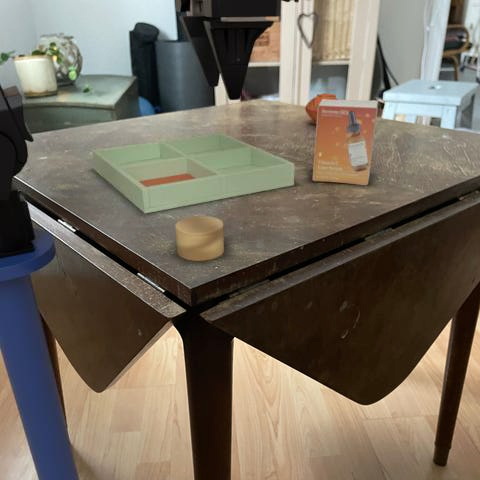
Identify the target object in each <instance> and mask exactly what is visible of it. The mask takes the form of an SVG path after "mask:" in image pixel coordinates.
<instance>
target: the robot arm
mask: <svg viewBox="0 0 480 480" xmlns="http://www.w3.org/2000/svg"><path fill="white" fill-rule="evenodd" d="M281 1H282V2H285V3H290V2H291V0H175V12H177V13H186V15H179V16H178V18H179V21H180V22H181V24H182V27H183V29H184V31H185V33H186V36H187V38H188V40H189V43H190V46H191V48H192V50H193V52H194V55H195V57H196V60H197V62H198V64H199V66H200V69H201V72H202V74H203V77H204V79H205V81H206V84H207V86H208V87H209V88H216V87H218V86H219V83H220V78H221V80H222V84H223V86H224V89H225V92H226V95H227V98H228V100H230V101H238V100H240V99H241V97H242V93H243V88H244V84H245V81H246V77H247V72H248V69H249V65H250V61H251V58H252V57H251V56H252V53H253V50H254V47H255V44H256V42H257V40H258V39H259V38H260V37H261V36H262V35H263V34H264V33H265V32H266V31H267V30H268V29H269V28H272V27H273V25H274V23H275V20H269V19H267V18H274V17H275V18H277V17H278V18H279V17H281V5H282V4H281V3H282V2H281ZM299 1H300V0H293V2H294V3H299ZM24 115H25V114H24V104H23V96H22V94H21V92H20V89H19V88H18V86H17V85H13V86H9V87H6V88H3V87H2V85H1V83H0V259H2V258H7V257H12V256H16V255H21V254H26V253H31V252H34V251H35V248H34V245H33V243H32V242H31V241H33V240H34V239H35V234H34V230H33V228H34V226H33V221H32V217H31V212H30V207H29V203H28V202H27V200H26V198H25V197H24V195H22V194H20V191H19V188H18V187H17V185H16V183H15V182H14V181H13V179H14V178H15V177H16V176H17V175H18V174H20V173H21V172H22V170H23V169H24V167H25V166H26V164H27V162H28V158H29V151H28V144H27V142H30V143H33V142H34V137H33V135H32V133H31V130H30V128H29V125H28V124H27V123H26V121H25V117H24Z"/></svg>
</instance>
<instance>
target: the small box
mask: <svg viewBox="0 0 480 480" xmlns="http://www.w3.org/2000/svg"><path fill="white" fill-rule="evenodd" d="M378 108H379V101H378V100H376V99H375V100H373V99H372V100H358V99H357V100H355V99H354V100H353V99H338V100H329V99H322V101H321V102H320V104H319V105H318V112H317V122H316V126H315V127H316V128H315V138H314V139H315V141H314V153H313V165H312V168H313V169H312V182H327V183H340V184H351V185H359V186H368V184H369V180H370V173H371V167H372V166H371V165H372V157H373V152H374V151H373V149H374V141H375V133H376V125H377V116H378Z"/></svg>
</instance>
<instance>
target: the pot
mask: <svg viewBox="0 0 480 480" xmlns="http://www.w3.org/2000/svg"><path fill="white" fill-rule="evenodd" d="M322 99H329V100H339V99H338V98H337V95H336V94H332V93H320V94H319V93H318V94H316V96H315V97H313V98H312V99H310V100H309V101H308V102H307V103H306V105H305V107H304V111H305V112H306V114H307V115H308V117H309V118H310V119H311V121H312V124H313V125H315V124H316V123H317V112H318V105H319V104H320V102H321V101H322Z"/></svg>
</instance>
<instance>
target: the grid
mask: <svg viewBox="0 0 480 480" xmlns="http://www.w3.org/2000/svg"><path fill="white" fill-rule="evenodd" d="M91 155H92V161H93V168H94V171H95V172H96V173H97V174H99V175H100V176H101V177H102V178H103V179H104V180H106V182H108V183H109V184H110V185H111V186H112V187H113V188H115V189H116V190H117V191H118V192H119V193H121V194H122V196H124V197H125V198H126V199H128V200H129V202H130V203H132V204H133V205H134V206H135V207H137V208H138V209H139V210H140V211H141V212H142V213H144V214H150V213H156V212H160V211H165V210H166V211H167V210H170V209H171V210H172V209H176V208H182V207H187V206H192V205H197V204H203V203H207V202H213V201H218V200H225V199H228V198H234V197H240V196H244V195H245V196H246V195H249V194H254V193H260V192H266V191H271V190H275V189H276V190H277V189H282V188H287V187H292V186H295V167H296V164H295V162H292V161H289V160H287V159H285V158H282V157H280V156H278V155H275V154H273V153H271V152H268V151H266V150H263V149H261V148H258V147H256V146H254V145H251V144H249V143H247V142H245V141H242V140H240V139H237V138H235V137H232V136H230V135H228V134H225V133H223V132H218V133H217V132H216V133H209V134H202V135H194V136H193V135H192V136H188V137H186V136H185V137H179V138H171V139H164V140H157V141H150V142H142V143H134V144H126V145H119V146H112V147H105V148H96V149H92V150H91Z"/></svg>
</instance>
